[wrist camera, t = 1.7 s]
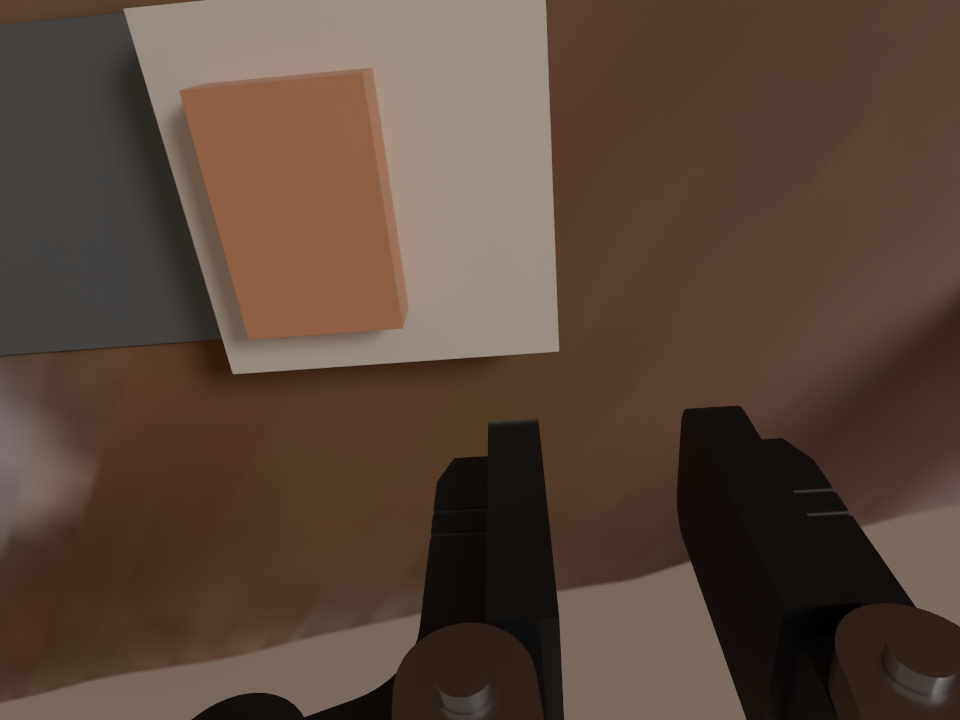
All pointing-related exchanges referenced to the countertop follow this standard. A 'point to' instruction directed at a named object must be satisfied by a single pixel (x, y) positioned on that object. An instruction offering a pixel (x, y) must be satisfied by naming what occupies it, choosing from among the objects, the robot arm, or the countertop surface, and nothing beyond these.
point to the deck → (392, 160)
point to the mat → (89, 198)
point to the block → (302, 201)
